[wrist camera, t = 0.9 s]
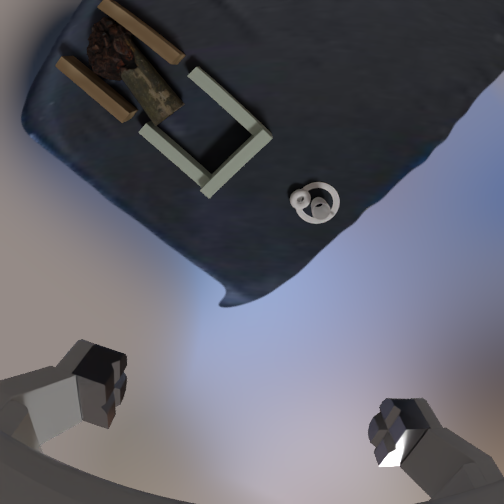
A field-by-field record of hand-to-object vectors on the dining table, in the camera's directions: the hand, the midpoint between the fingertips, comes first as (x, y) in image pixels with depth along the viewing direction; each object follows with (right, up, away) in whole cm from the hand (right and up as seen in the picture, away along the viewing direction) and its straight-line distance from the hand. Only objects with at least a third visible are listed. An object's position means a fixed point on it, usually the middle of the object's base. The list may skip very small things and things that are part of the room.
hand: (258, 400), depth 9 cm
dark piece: (-19, +34, +35) cm, 52 cm away
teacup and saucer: (+11, +16, +46) cm, 49 cm away
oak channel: (-21, +36, +33) cm, 53 cm away
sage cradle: (-8, +25, +40) cm, 48 cm away
